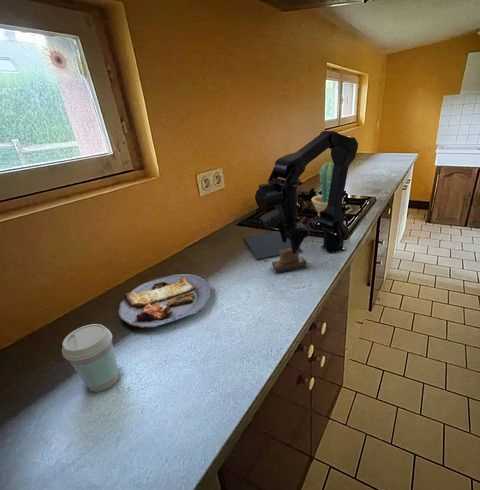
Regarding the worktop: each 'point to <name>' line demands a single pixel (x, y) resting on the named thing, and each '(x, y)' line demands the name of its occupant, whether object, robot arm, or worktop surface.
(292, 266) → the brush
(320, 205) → the potted cactus
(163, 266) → the worktop surface
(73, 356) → the coffee cup
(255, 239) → the mat
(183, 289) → the food plate
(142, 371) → the worktop surface
